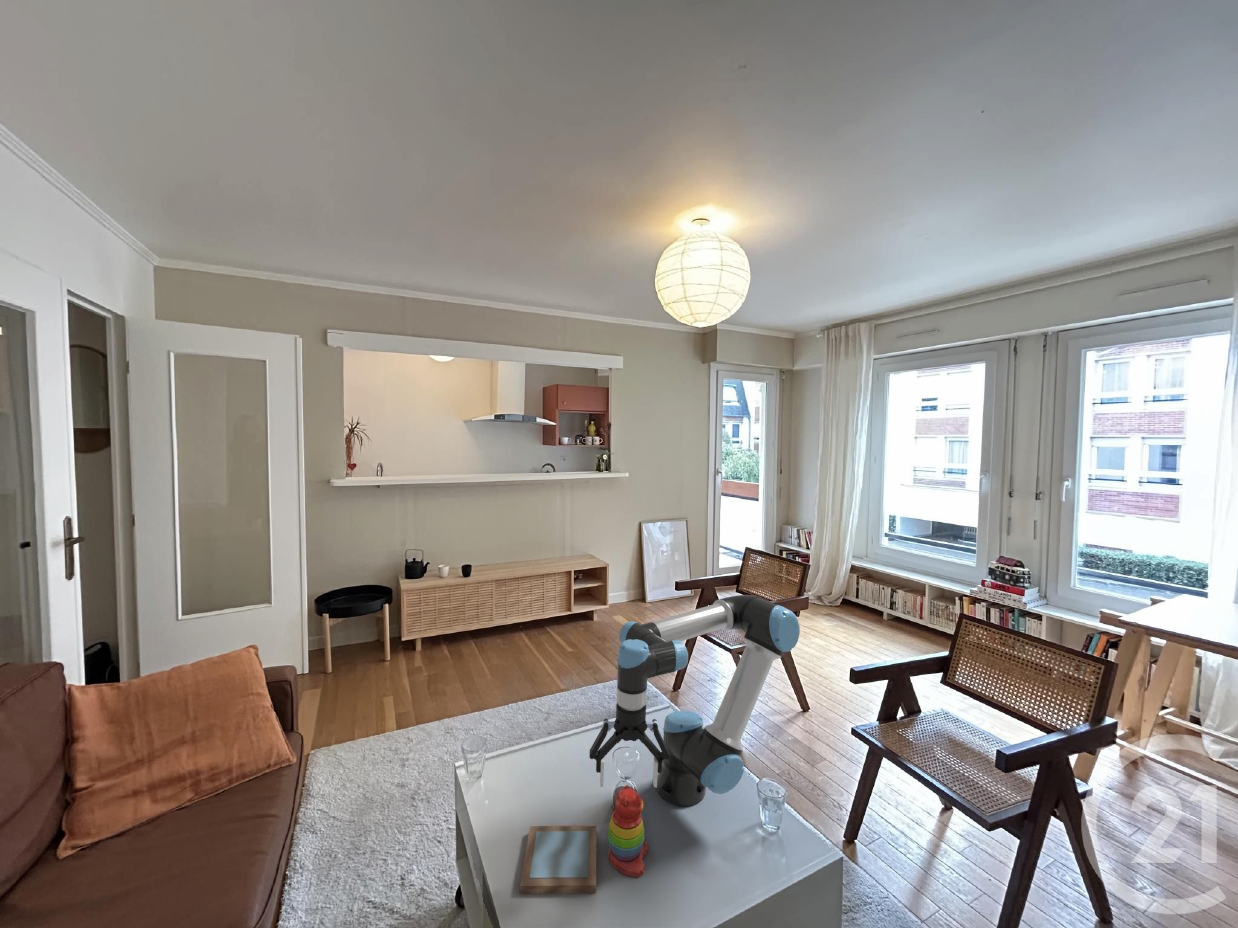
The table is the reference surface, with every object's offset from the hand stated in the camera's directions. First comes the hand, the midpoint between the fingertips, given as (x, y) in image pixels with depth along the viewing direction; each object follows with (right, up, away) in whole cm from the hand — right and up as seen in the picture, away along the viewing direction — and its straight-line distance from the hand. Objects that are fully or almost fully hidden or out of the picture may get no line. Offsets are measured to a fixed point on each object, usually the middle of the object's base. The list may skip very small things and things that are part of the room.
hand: (628, 783), depth 130 cm
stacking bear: (0, -20, +2) cm, 20 cm away
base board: (-17, -20, 0) cm, 26 cm away
